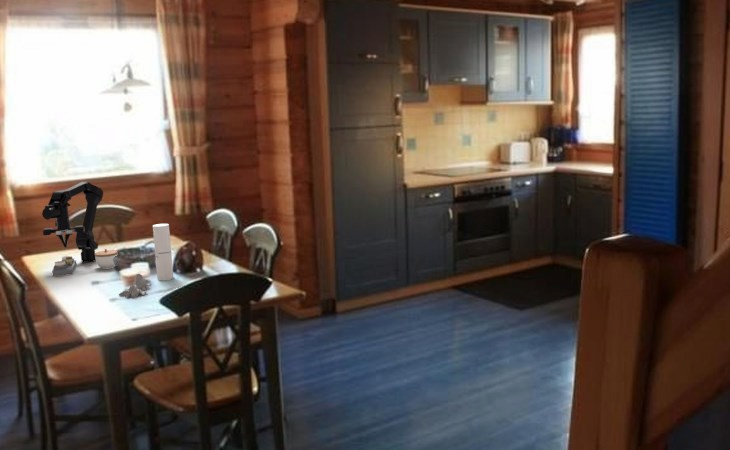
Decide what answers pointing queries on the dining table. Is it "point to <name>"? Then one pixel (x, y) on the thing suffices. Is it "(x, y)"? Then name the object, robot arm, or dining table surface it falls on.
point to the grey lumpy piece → (136, 287)
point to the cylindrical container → (163, 251)
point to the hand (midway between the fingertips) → (65, 247)
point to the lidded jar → (105, 258)
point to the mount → (64, 269)
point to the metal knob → (69, 261)
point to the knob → (60, 263)
